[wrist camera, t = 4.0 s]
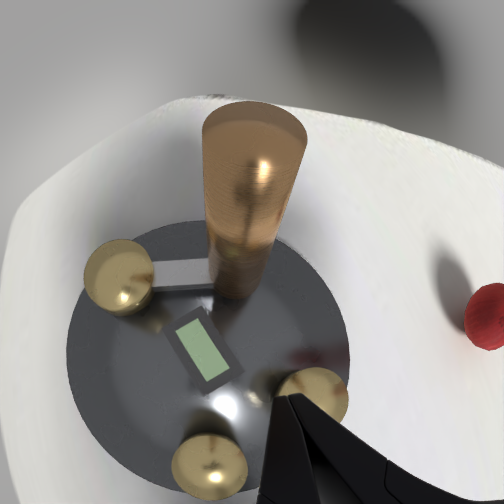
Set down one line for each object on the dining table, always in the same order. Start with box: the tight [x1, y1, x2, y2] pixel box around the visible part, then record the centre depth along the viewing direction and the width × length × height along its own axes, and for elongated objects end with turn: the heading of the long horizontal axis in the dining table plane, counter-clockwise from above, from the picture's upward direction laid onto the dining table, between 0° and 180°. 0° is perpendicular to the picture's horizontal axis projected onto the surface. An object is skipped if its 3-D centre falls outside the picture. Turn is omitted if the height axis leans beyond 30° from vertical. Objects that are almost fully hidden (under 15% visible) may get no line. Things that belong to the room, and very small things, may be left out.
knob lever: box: [84, 101, 307, 316], centre depth 15 cm, size 12×5×13 cm, turn 97°
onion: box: [464, 283, 504, 351], centre depth 18 cm, size 6×6×8 cm
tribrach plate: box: [66, 221, 350, 500], centre depth 18 cm, size 20×20×3 cm
